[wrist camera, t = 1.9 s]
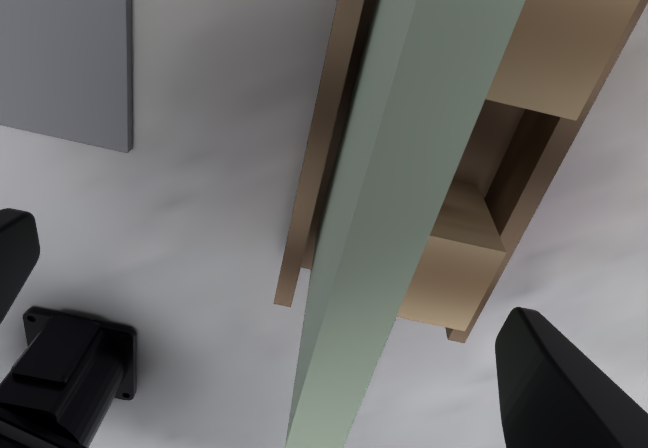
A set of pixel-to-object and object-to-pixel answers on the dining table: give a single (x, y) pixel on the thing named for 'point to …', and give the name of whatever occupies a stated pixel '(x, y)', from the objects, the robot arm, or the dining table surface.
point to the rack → (474, 167)
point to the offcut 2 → (559, 54)
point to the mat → (68, 70)
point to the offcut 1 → (455, 262)
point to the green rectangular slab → (388, 192)
